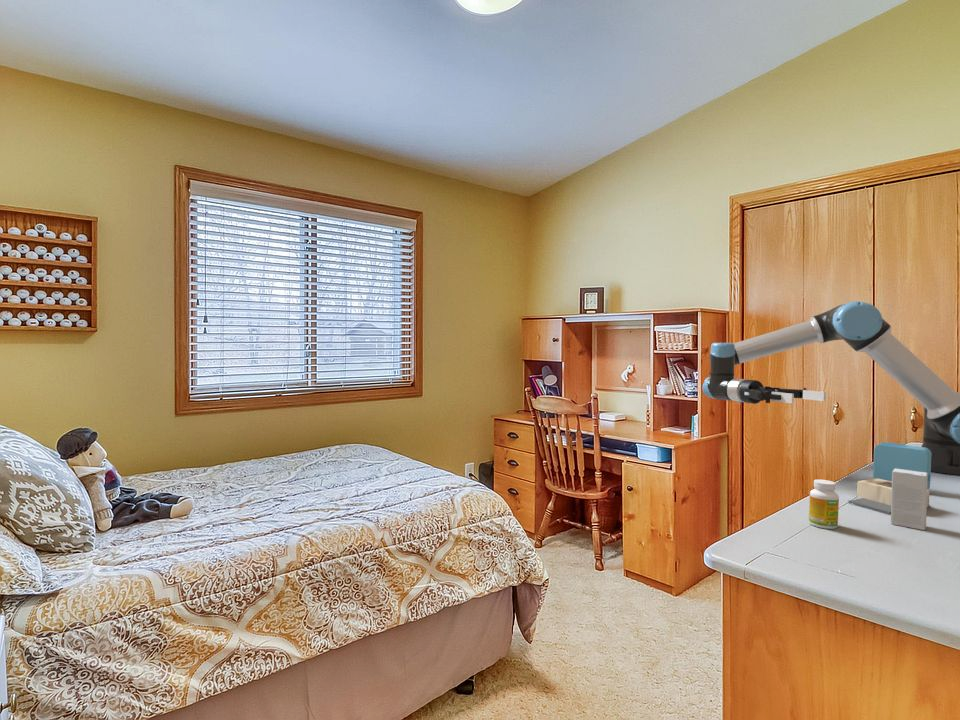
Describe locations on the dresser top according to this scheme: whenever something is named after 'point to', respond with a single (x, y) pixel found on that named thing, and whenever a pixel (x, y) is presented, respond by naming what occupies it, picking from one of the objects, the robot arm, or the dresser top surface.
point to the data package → (900, 460)
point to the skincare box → (909, 498)
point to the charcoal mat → (872, 505)
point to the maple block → (878, 490)
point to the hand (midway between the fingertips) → (809, 397)
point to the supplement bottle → (824, 505)
